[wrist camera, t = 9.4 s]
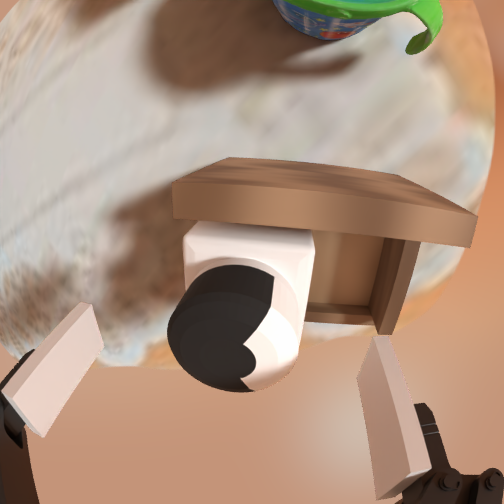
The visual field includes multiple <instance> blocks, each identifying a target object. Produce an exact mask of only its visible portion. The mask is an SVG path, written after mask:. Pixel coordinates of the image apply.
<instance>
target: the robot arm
mask: <svg viewBox="0 0 504 504" xmlns="http://www.w3.org/2000/svg"><path fill="white" fill-rule="evenodd" d="M103 348H104V343H103V340H102V337H101V334H100V331H99V328H98V324H97V321H96V318H95V314H94V311H93V307H92V304H88V303H84V302H80V303H79V304H78V305H77V306H76V307H75V308H74V309H73V310H72V311H71V312H70V313H69V314H68V315H67V316H66V317H65V318H64V319H63V320H62V321H61V322H60V323H59V324H58V325H57V326H56V328H55V329H54V330H53V331H52V332H51V333H50V334H49V335H48V336H47V337H46V338H45V340H44V341H43V342H42V343H41V344H40V345H39V346H38V347H37V348H36V350H35V349H32V350H31V351H29V352H28V353H26V354H25V355H24V356H23V357H22V358H21V359H20V361H19V363H17V364H16V365H15V366H14V369H12V370H11V371H10V372H9V374H8V375H7V376H6V377H5V379H4V380H3V381H2V382H1V383H0V504H39V500H38V496H37V492H36V488H35V483H34V479H33V474H32V469H31V463H30V457H29V451H28V444H27V435H26V431H25V428H24V425H25V424H26V425H27V426H28V427H29V428H30V429H31V431H33V432H34V433H36V434H37V435H40V436H41V437H43V438H44V437H45V435H46V433H47V432H48V430H49V428H50V427H51V425H52V424H53V422H54V421H55V419H56V417H57V416H58V414H59V412H60V411H61V409H62V408H63V406H64V405H65V403H66V402H67V400H68V399H69V397H70V396H71V394H72V392H73V391H74V389H75V388H76V386H77V385H78V384H79V382H80V381H81V379H82V377H83V376H84V375H85V373H86V372H87V370H88V369H89V367H90V366H91V365H92V363H93V362H94V360H95V359H96V357H97V356H98V355H99V353H100V352H101V350H102V349H103ZM357 382H358V387H359V391H360V396H361V402H362V407H363V412H364V418H365V424H366V429H367V435H368V441H369V448H370V454H371V461H372V469H373V476H374V484H375V492H376V500H381V499H387V498H392V497H395V496H397V495H398V494H400V493H401V492H402V496H403V498H402V499H401V500H399V501H398V502H396V503H395V504H502V498H503V489H504V477H503V474H502V473H501V472H500V471H499V470H498V469H496V468H489V469H487V470H486V471H484V472H483V473H482V474H481V475H463V474H460V473H459V472H458V471H457V470H456V469H454V468H451V467H450V465H449V462H448V459H447V456H446V452H445V449H444V446H443V443H442V439H441V436H440V434H439V433H438V432H439V430H438V427H437V425H436V422H435V418H434V415H433V413H432V411H431V410H430V409H429V407H427V405H426V404H425V403H419V404H413V401H412V398H411V395H410V392H409V390H408V387H407V384H406V381H405V378H404V376H403V373H402V370H401V367H400V365H399V362H398V359H397V357H396V354H395V352H394V349H393V346H392V344H391V341H390V339H389V336H373V337H372V340H371V343H370V346H369V348H368V351H367V354H366V356H365V359H364V361H363V364H362V366H361V369H360V371H359V374H358V376H357Z"/></svg>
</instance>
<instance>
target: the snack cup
mask: <svg viewBox="0 0 504 504" xmlns="http://www.w3.org/2000/svg"><path fill="white" fill-rule="evenodd" d="M272 1H273V3H274V5H275V6H276V8H277V9H278V11H279V12H280V14H281V16H282V17H283V19H284V20H285V21H286V22H288V23H289V24H290V25H291V26H292V27H294V28H295V29H296V30H298V31H300V32H302V33H304V34H307V35H310V36H312V37H316V38H318V39H323V40H336V39H343V38H347V37H350V36H353V35H355V34H357V33H359V32H361V31H362V30H363V29H365V28H367V27H368V26H369V25H371V24H373V23H375V22H376V21H378V20H379V19H381V18H382V17H386V16H390V15H393V14H396V13H399V12H403V11H404V12H410V13H412V14H414V15H415V16H417V17H418V18H419V19H420V20H421V21H422V22H423V24H424V25H425V26H426V27H427V28H428V29H427V30H426V31H424V32H422V33H420V34H418V35H416V36H414V37H412V39H411V40H410V41H409V43H408V45H407V47H406V50H405V51H406V53H407V54H409V55H413V54H417V53H419V52H421V51H423V50H425V49H426V48H427V47H428V46H429V45H430V44H431V43H432V42H433V40H434V38H435V37H436V35H437V34H438V33H439V31H440V29H441V27H442V22H443V12H442V8H441V5H440V3H439V0H272Z"/></svg>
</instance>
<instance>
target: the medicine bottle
mask: <svg viewBox="0 0 504 504" xmlns="http://www.w3.org/2000/svg"><path fill="white" fill-rule="evenodd" d="M314 256H315V247H314V242H313V237H312V231H311V229H300V228H289V227H278V226H266V225H254V224H242V223H229V222H215V221H201V220H199V221H198V222H197V223H196V224H195V225H194V226H193V227H192V228H191V229H190V230H189V231H188V232H187V233H186V234H185V235H184V237H183V259H184V275H185V290H186V293H185V294H184V296H183V298H182V299H181V301H180V302H179V304H178V306H177V307H176V309H175V311H174V312H173V314H172V316H171V317H170V320H169V323H168V328H167V337H168V342H169V345H170V348H171V350H172V352H173V354H174V356H175V358H176V360H177V361H178V363H179V364H180V365H181V366H182V367H183V369H184V370H185V371H187V372H188V373H189V374H190V375H191V376H193V377H194V378H195V379H197V380H199V381H200V382H202V383H204V384H206V385H208V386H211V387H214V388H217V389H220V390H224V391H230V392H253V391H258V390H262V389H265V388H268V387H270V386H272V385H274V384H276V383H277V382H279V381H280V380H282V379H283V378H284V377H285V376H286V375H287V374H289V372H290V371H291V370H292V368H293V367H294V365H295V363H296V360H297V357H298V347H299V344H300V339H301V334H302V329H303V323H304V318H305V312H306V307H307V301H308V295H309V289H310V283H311V276H312V270H313V263H314Z"/></svg>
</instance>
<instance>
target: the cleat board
mask: <svg viewBox="0 0 504 504" xmlns="http://www.w3.org/2000/svg"><path fill="white" fill-rule="evenodd" d="M172 208H173V219H186V220H201V221H215V222H229V223H242V224H254V225H266V226H278V227H289V228H300V229H311V231H312V237H313V242H314V247H315V256H314V263H313V270H312V276H311V283H310V289H309V295H308V301H307V307H306V312H305V318H304V321H306V322H319V323H334V324H352V325H375V327H376V330H377V333H378V334H380V335H392V333H393V331H394V328H395V325H396V323H397V320H398V317H399V314H400V311H401V308H402V305H403V302H404V299H405V296H406V293H407V290H408V287H409V284H410V280H411V277H412V274H413V270H414V266H415V263H416V259H417V255H418V252H419V248H420V244H421V242H428V243H436V244H443V245H451V246H458V247H465V248H470V247H471V243H472V239H473V236H474V232H475V227H476V223H477V219H478V216H476V215H475V214H473V213H471V212H469V211H468V210H466V209H464V208H462V207H460V206H459V205H457V204H455V203H453V202H451V201H449V200H448V199H446V198H444V197H442V196H440V195H438V194H436V193H434V192H432V191H430V190H428V189H426V188H424V187H422V186H420V185H418V184H416V183H414V182H412V181H409V180H407V179H405V178H403V177H401V176H399V175H395V174H389V173H383V172H377V171H370V170H364V169H357V168H349V167H342V166H334V165H325V164H316V163H306V162H296V161H284V160H270V159H254V158H232V157H229V158H226V159H224V160H222V161H219V162H217V163H214V164H212V165H210V166H207V167H205V168H203V169H200V170H198V171H196V172H194V173H191V174H189V175H187V176H185V177H183V178H180V179H178V180H176V181H174V182H172Z"/></svg>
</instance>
